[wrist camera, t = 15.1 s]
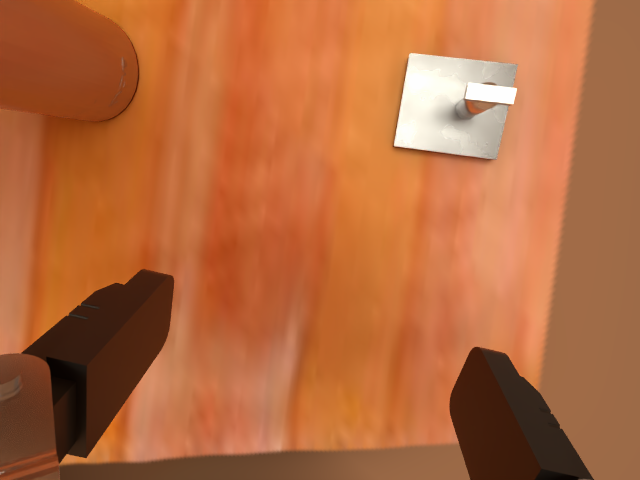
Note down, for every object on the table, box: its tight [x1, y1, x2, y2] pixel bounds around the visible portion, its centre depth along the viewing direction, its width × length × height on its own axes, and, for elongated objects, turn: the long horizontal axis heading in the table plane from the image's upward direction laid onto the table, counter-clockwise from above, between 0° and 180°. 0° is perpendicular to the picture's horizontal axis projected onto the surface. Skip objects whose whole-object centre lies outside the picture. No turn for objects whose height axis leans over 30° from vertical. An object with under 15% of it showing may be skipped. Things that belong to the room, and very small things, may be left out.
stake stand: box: [393, 53, 518, 160], centre depth 28 cm, size 8×7×8 cm
